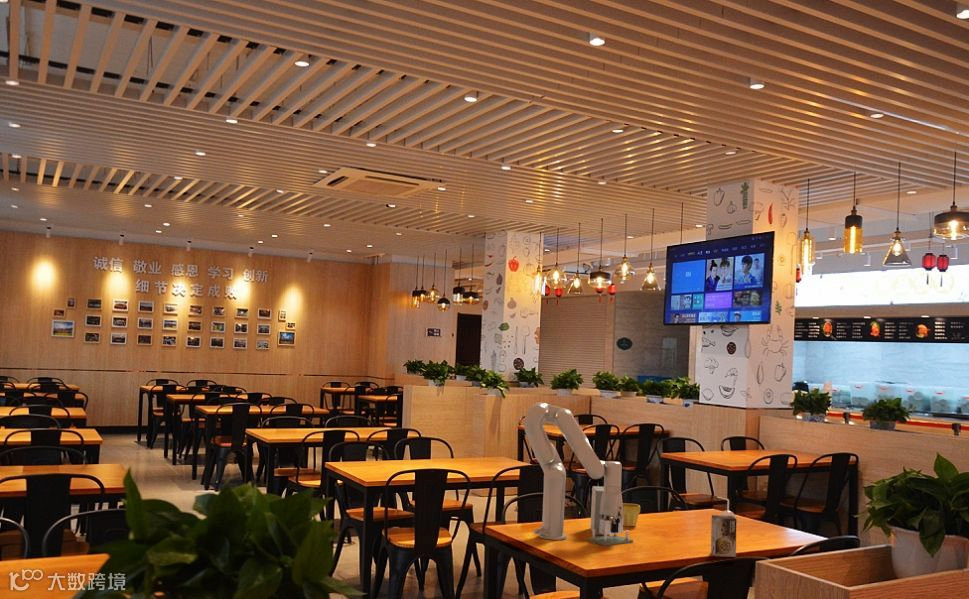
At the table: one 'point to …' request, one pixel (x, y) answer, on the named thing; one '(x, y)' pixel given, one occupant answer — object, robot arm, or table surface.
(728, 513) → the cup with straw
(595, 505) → the hard drive box
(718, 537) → the coffee box
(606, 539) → the pin tray
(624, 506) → the plant pot
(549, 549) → the table surface
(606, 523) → the white open box
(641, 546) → the table surface
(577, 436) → the robot arm
